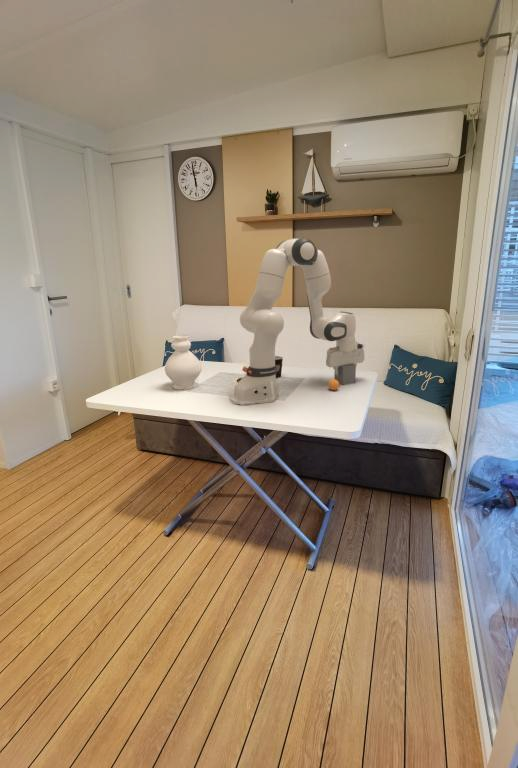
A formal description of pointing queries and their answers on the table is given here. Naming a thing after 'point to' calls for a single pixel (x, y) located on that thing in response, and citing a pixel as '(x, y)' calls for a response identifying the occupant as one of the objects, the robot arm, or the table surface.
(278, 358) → the coffee mug
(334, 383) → the ball
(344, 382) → the grey block
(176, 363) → the decorative vase
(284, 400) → the table surface
